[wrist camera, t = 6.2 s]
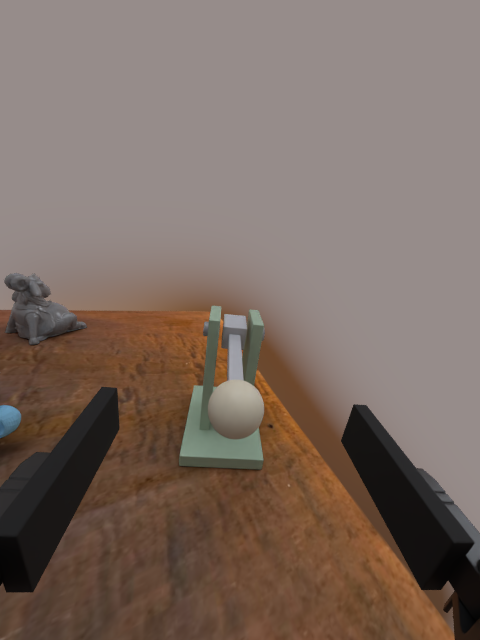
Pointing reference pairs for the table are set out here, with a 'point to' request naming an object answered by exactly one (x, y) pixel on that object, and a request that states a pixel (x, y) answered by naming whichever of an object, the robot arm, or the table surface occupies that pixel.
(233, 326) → the knob lever
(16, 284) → the figurine
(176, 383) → the table surface
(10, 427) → the teapot
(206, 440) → the green lever stand
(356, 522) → the table surface
